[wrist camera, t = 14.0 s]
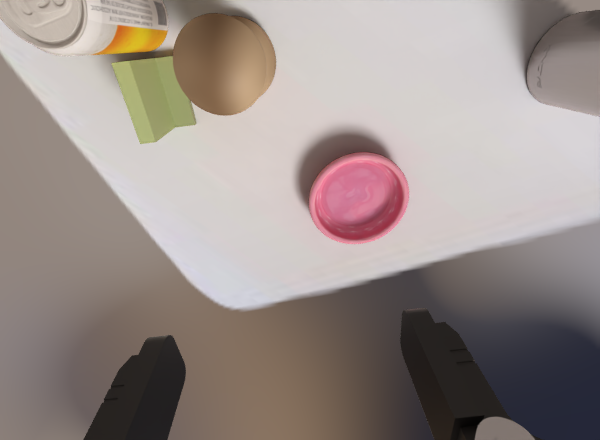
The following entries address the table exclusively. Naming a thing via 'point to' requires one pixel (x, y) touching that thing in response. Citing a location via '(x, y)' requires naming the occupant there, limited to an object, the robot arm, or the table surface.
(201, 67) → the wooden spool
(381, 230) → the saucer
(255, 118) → the table surface
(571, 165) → the table surface
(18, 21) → the beer can
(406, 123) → the table surface
